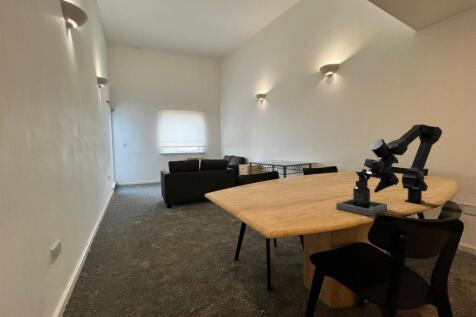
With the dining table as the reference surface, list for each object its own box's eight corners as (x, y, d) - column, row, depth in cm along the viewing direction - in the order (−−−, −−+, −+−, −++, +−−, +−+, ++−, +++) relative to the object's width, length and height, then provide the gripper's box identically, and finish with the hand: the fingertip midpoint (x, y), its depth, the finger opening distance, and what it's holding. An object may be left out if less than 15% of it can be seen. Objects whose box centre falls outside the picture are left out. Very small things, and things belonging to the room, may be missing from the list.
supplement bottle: (373, 208, 108) (374, 181, 107) (361, 210, 106) (362, 183, 105) (361, 205, 114) (361, 179, 114) (349, 206, 112) (349, 180, 111)
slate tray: (354, 203, 120) (354, 198, 120) (387, 210, 108) (387, 204, 108) (336, 209, 112) (336, 202, 112) (369, 216, 99) (369, 210, 99)
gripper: (358, 151, 119) (340, 176, 117) (394, 153, 102) (374, 181, 99) (370, 166, 123) (353, 190, 120) (407, 170, 105) (388, 198, 102)
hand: (365, 190), depth 110 cm, fingers open, 9 cm apart
